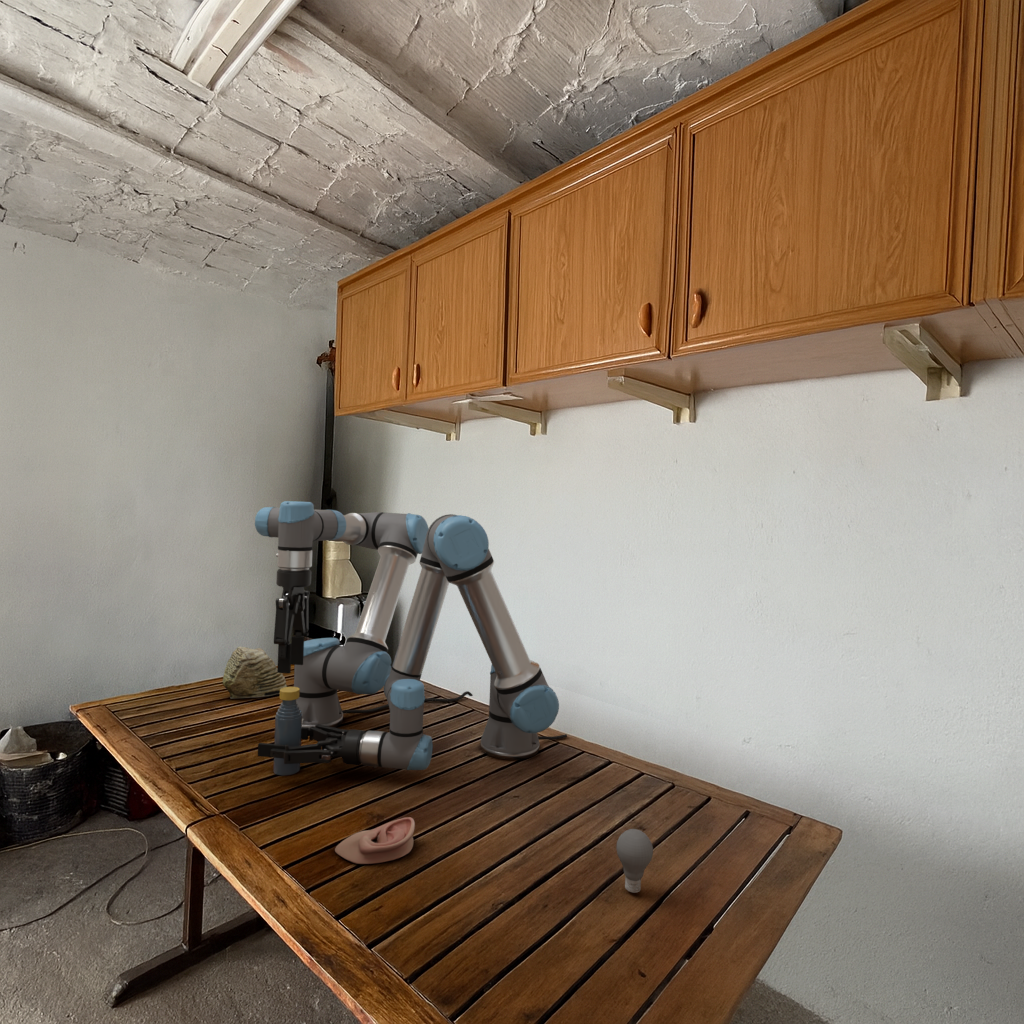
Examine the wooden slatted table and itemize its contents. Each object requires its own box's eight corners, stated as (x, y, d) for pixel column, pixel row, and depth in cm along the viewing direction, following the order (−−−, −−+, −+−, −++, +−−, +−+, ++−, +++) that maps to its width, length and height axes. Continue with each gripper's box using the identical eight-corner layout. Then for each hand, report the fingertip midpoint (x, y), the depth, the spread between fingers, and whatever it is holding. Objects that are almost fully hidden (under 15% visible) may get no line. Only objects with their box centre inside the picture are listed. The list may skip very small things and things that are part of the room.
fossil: (218, 695, 195) (220, 647, 195) (278, 685, 208) (279, 640, 207) (228, 703, 189) (230, 653, 188) (289, 692, 201) (290, 645, 201)
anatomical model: (327, 836, 111) (356, 806, 122) (326, 858, 111) (355, 826, 122) (398, 848, 108) (421, 815, 119) (397, 871, 108) (420, 836, 119)
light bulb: (610, 879, 108) (613, 822, 108) (644, 879, 109) (647, 822, 109) (619, 902, 102) (622, 840, 102) (655, 901, 103) (658, 840, 103)
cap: (275, 697, 145) (275, 689, 145) (291, 693, 149) (291, 685, 149) (287, 701, 143) (288, 693, 143) (303, 697, 146) (303, 689, 146)
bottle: (267, 770, 145) (270, 691, 145) (289, 762, 150) (292, 685, 150) (284, 777, 142) (287, 696, 142) (305, 769, 147) (308, 690, 146)
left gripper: (295, 563, 155) (291, 657, 155) (258, 572, 136) (254, 679, 136) (325, 565, 155) (321, 658, 155) (293, 574, 135) (289, 681, 136)
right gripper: (345, 786, 133) (244, 777, 135) (378, 745, 156) (291, 737, 158) (346, 751, 133) (245, 742, 135) (379, 714, 155) (293, 707, 158)
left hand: (290, 668), depth 145 cm, fingers open, 7 cm apart
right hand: (270, 740), depth 146 cm, fingers open, 10 cm apart
